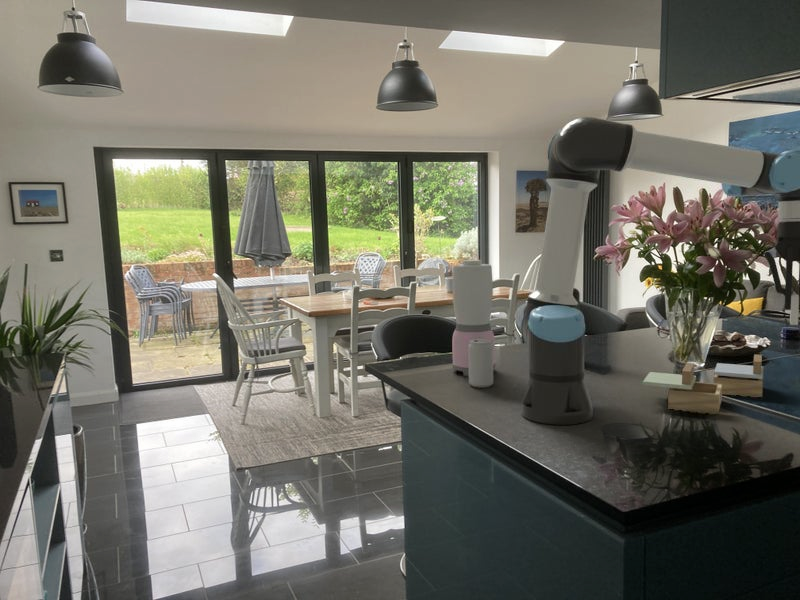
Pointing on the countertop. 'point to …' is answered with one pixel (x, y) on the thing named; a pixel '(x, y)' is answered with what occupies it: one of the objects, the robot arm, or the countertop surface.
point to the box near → (696, 398)
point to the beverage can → (480, 363)
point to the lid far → (741, 369)
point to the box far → (740, 386)
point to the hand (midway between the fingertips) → (793, 323)
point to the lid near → (672, 378)
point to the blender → (471, 309)
